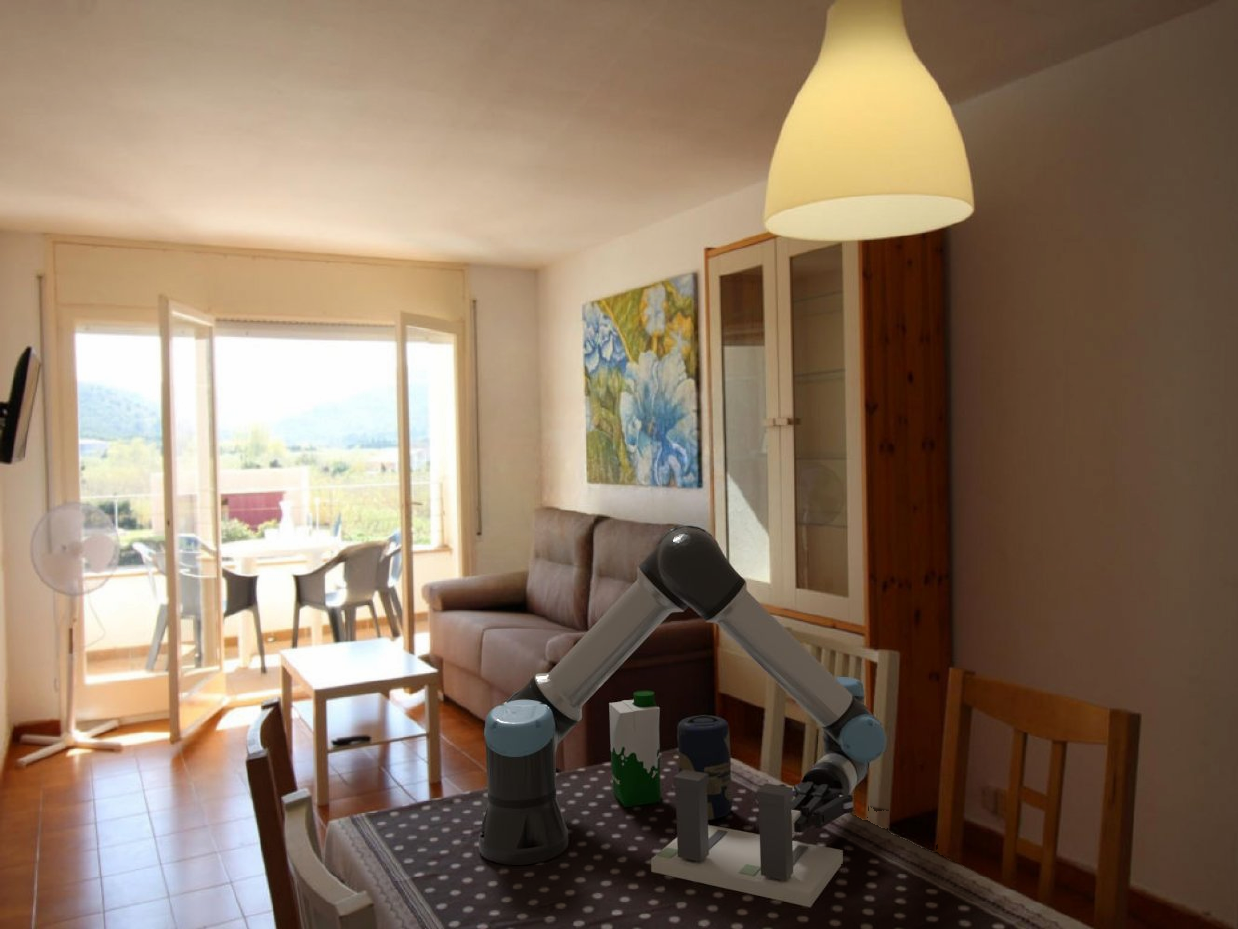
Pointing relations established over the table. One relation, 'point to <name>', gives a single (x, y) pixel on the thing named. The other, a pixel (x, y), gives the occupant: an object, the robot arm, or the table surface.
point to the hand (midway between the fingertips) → (782, 834)
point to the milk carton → (635, 749)
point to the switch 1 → (692, 814)
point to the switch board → (752, 867)
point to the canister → (708, 758)
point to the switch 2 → (775, 831)
